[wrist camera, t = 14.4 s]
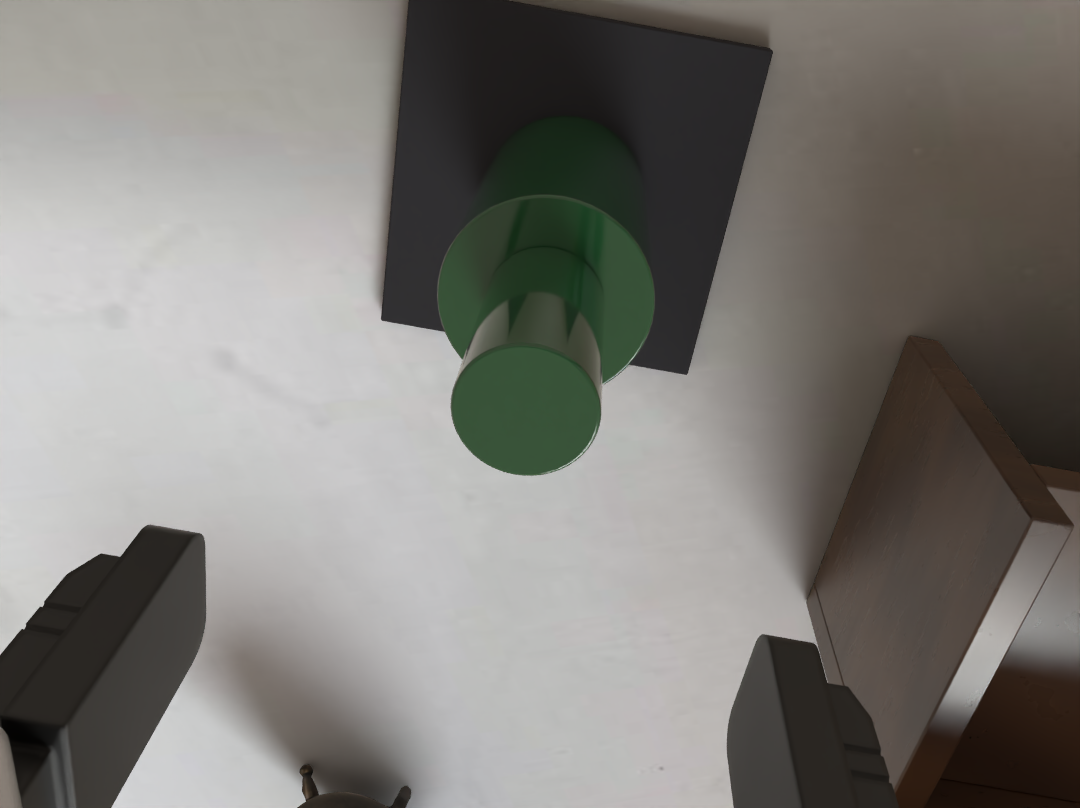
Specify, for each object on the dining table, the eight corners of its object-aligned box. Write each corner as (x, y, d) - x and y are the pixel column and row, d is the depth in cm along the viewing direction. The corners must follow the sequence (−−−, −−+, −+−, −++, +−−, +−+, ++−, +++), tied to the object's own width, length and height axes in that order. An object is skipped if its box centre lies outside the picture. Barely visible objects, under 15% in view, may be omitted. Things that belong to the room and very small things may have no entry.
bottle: (496, 101, 32) (399, 257, 18) (660, 131, 32) (695, 309, 18) (474, 259, 35) (376, 502, 20) (626, 286, 35) (633, 547, 21)
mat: (413, -17, 31) (409, -16, 30) (770, 48, 31) (773, 50, 30) (384, 315, 37) (380, 321, 36) (686, 369, 37) (687, 375, 36)
